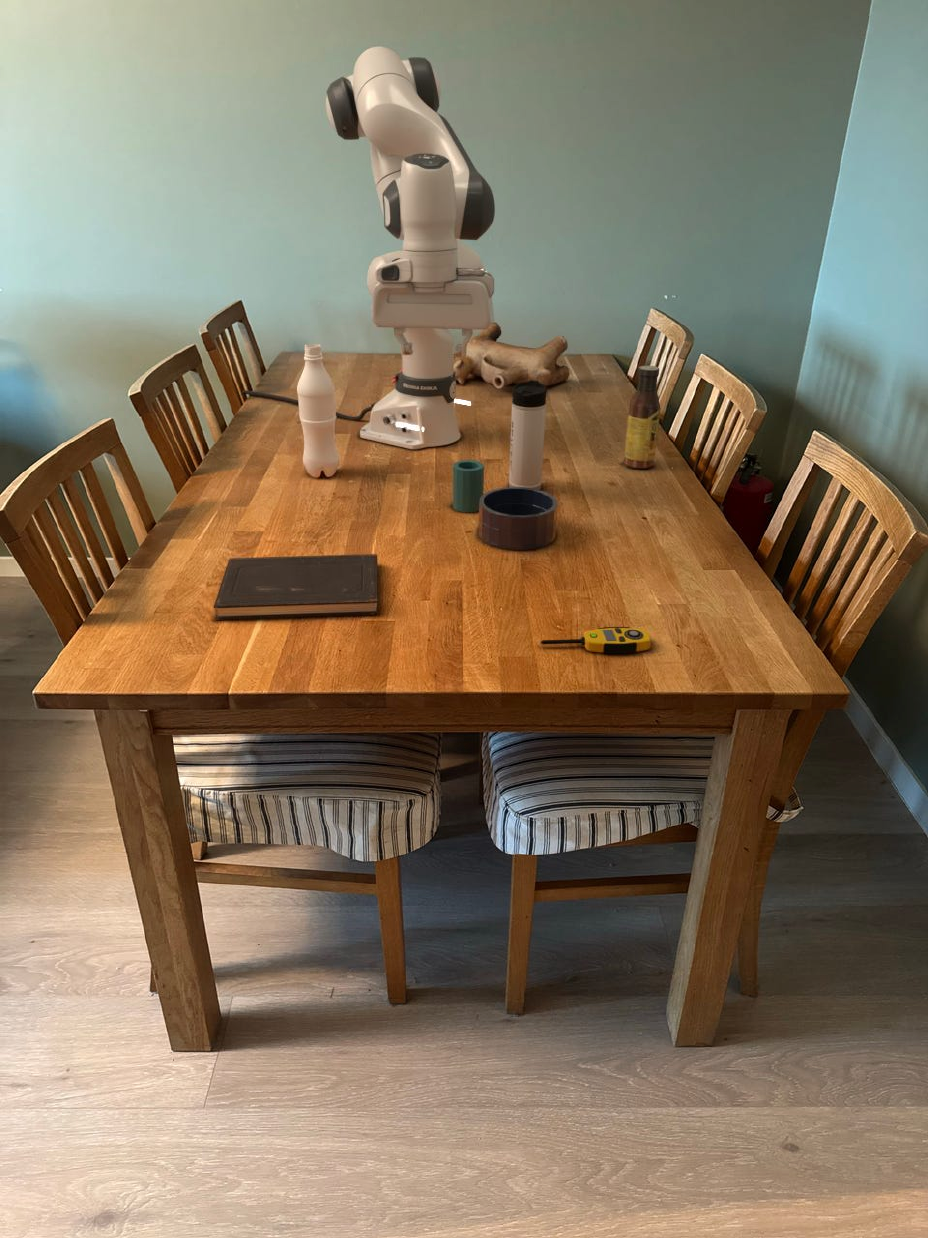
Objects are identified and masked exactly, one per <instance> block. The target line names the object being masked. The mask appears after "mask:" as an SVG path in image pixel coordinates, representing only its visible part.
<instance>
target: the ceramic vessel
mask: <svg viewBox="0 0 928 1238" xmlns="http://www.w3.org/2000/svg"><path fill="white" fill-rule="evenodd" d="M501 328H502V327H501V326H500V325H499V324H498V323H497V322H495V321H493V323H492V324H491V326H490V327H489V328H487V329H485V330H480V332H479V333H478V334H476V335H475V336H473V337H471V338H470V340H469V342H468V343H467V345H466V348H467V353H466V356H465V357H458V356H454V372H455V375H456V382H458V383H459V384H460V386H464V385H465V381H466V378H467V377H468V376H469V375H472V376H475V377H478V378H482V379H483V381H484V382H485V383H488V384H492V385H493V386H494V388H495V389H497V390H502V389H503V388H505V387H506V386H508V385H511V384H515V385H516V384H519V383H522V382H529V381H530V380H535V381H539V383H541V384H543V385H545V386H546V387H548V386H552V385H557V384H560V383H561V382H564V381H567V380H568V379H569V377H570V369H569V367H568V366H567V365H565V364H564V365H559V364H558V363H557V362H558V359H559V357H560V356H562V354H564V353H565V352H566V351H567V350H568V346H569V345H568V340H567V339H566V338H565V336H563V335H557V336H555V337H554V338H552V339H551V340H549V341H548V342H546V343H545V344H543V345H542V346H540V347H528V346H520V345H519V346H518V345H514V344H509V343H505V342H501V341H498V339H499V338H500V337H501V335H502V332H503V331H502V329H501Z"/></svg>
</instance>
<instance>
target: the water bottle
mask: <svg viewBox="0 0 928 1238" xmlns="http://www.w3.org/2000/svg"><path fill="white" fill-rule="evenodd" d="M323 359H324V356H323V353H322V346H321V344H320V343H319V344H318V343H308V344H305V345H304V357H303V360H304V361H305V362H304V368H303V370H302V373H301V375H300V377H299V380H298V382H297V384H296V385H297V387H296V393H297V397H298V398H297V400H298V401H299V404H298V413H299V421H300V424H301V427H302V432H303V434H302V435H303V444H304V445H303V455H302V463H303V465H302V466H303V467H304V469H305V471H306V473H307V474H309V475H310V476H311V477H313V478H317V479H318V478H320V476H321V474H322V473H321V472H323V473H324V475H325V477H327V478H330V477H333V476H334V475H335V473H336V472H337V470H338V468H339V465H340V455H339V451H338V447H337V443H336V436H335V435H336V433H335V431H336V430H335V428H336V420H337V416H336V412H337V411H336V409H337V408H336V395H335V392H336V388H335V385H334V382H333V380H332V379H331V376H330V375H329V373H328V371H327V370H326V368H325V366H324V363H323Z"/></svg>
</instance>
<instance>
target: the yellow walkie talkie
mask: <svg viewBox="0 0 928 1238" xmlns="http://www.w3.org/2000/svg"><path fill="white" fill-rule="evenodd" d="M540 644H541V645H567V644H568V645H569V644H572V645H573V644H581V646H584V648H585V650H587V651H588V652H594V653H603V654H606V655H625V654H626V655H628V654H635V653H637V652H642V651H647V650H649V649H650V647H651V644H652V639H651V635H650V633H649V632H648V631H647V630H646V629H641V628H633V627H631V628H630V627H629V626H604V627H598V628H595V629H591V630H586V631H584V633H583V637H582V636H581V638H573V639H543V640H541V641H540Z"/></svg>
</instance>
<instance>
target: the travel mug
mask: <svg viewBox="0 0 928 1238" xmlns="http://www.w3.org/2000/svg"><path fill="white" fill-rule="evenodd" d="M547 390H548V389H547V386H545V385H543V384H541V383H539V381H535V380H530V381H529V382H522V383H519V384H515V385H513V387H512V400H511V419H510V420H511V421H510V426H511V427H510V444H509V445H510V447H509V448H510V449H509V473H508V487H526V488H533V489H537V490H541V489H542V483H543V482H542V479H543V464H544V447H545V444H544V443H545V428H546V411H547V407H546V406H547Z"/></svg>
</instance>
